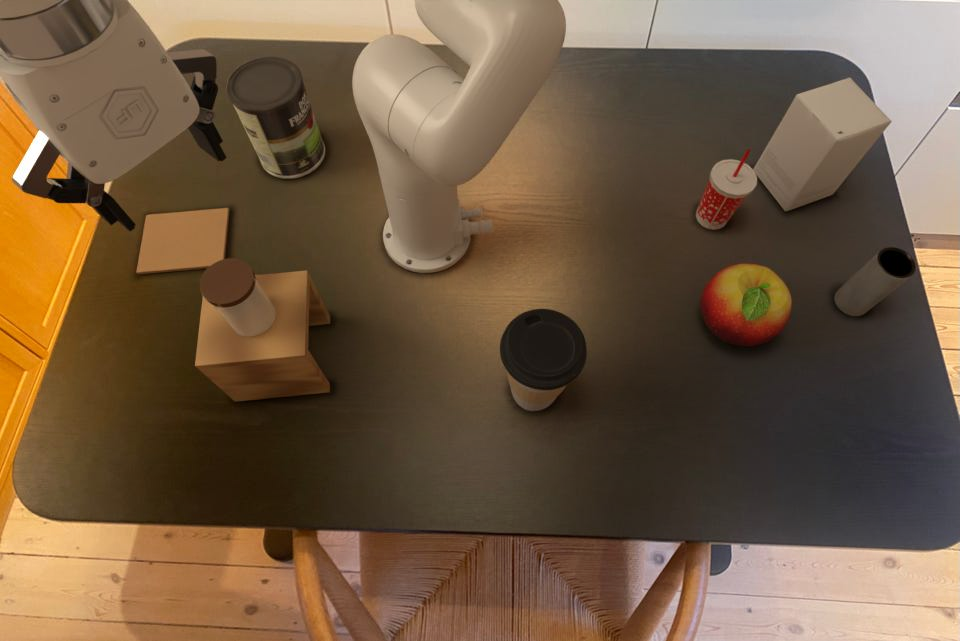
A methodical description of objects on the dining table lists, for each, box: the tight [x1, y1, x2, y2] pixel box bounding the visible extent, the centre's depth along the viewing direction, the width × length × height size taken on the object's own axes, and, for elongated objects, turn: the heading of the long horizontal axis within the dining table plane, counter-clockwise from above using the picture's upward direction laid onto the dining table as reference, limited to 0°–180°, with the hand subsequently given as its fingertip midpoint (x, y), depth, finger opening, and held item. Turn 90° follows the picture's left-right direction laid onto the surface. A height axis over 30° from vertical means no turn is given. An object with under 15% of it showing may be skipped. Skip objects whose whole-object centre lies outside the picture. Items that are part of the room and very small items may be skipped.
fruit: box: [699, 263, 793, 347], centre depth 77 cm, size 11×11×10 cm
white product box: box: [752, 77, 893, 212], centre depth 85 cm, size 9×9×15 cm
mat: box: [135, 207, 231, 275], centre depth 87 cm, size 12×10×1 cm
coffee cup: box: [499, 308, 588, 412], centre depth 70 cm, size 9×9×15 cm
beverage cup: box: [695, 148, 758, 231], centre depth 83 cm, size 6×6×14 cm
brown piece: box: [194, 270, 331, 403], centre depth 74 cm, size 12×11×12 cm
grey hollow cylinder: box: [833, 246, 917, 317], centre depth 78 cm, size 4×4×10 cm
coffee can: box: [225, 56, 326, 180], centre depth 89 cm, size 10×10×14 cm
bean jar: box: [199, 257, 276, 337], centre depth 65 cm, size 5×5×8 cm
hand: (169, 185), depth 53 cm, fingers open, 9 cm apart
